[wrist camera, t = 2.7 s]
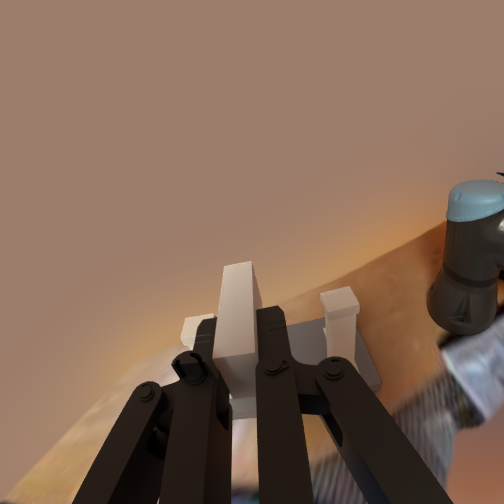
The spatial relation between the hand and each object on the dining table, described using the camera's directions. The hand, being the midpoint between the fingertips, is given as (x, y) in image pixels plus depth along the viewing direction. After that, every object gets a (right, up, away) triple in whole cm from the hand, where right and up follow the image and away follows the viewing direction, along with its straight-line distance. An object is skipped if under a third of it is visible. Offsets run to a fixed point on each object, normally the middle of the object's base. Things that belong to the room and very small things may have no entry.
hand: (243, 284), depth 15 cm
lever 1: (+13, -14, +19) cm, 27 cm away
